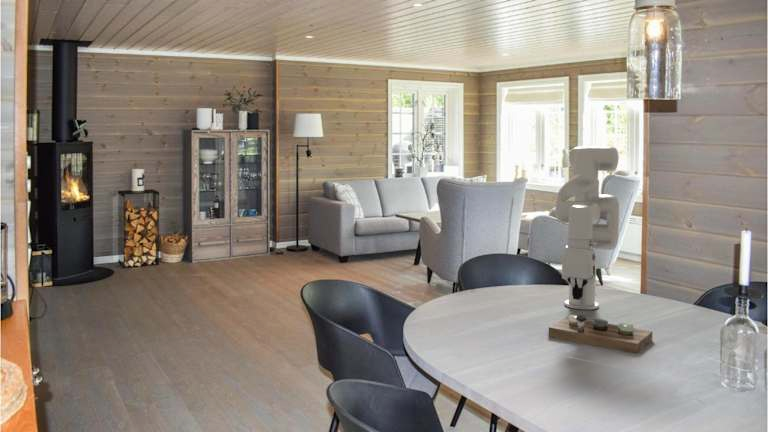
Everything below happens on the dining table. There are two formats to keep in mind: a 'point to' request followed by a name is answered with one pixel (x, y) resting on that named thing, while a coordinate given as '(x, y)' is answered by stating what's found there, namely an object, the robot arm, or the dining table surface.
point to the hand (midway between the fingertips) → (577, 298)
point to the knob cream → (573, 320)
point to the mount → (602, 336)
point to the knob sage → (625, 329)
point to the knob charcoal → (600, 324)
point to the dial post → (580, 322)
